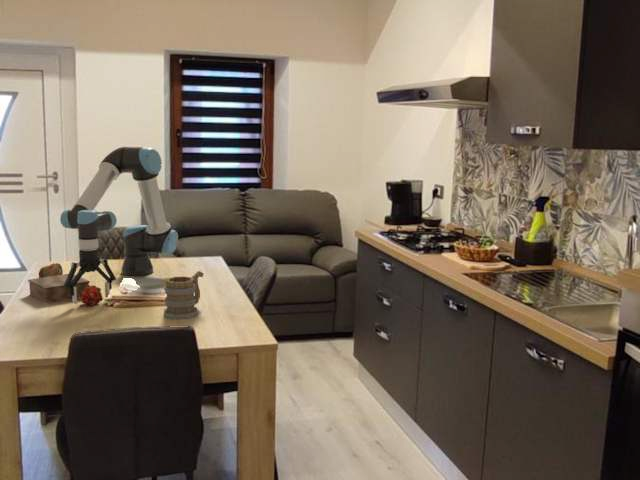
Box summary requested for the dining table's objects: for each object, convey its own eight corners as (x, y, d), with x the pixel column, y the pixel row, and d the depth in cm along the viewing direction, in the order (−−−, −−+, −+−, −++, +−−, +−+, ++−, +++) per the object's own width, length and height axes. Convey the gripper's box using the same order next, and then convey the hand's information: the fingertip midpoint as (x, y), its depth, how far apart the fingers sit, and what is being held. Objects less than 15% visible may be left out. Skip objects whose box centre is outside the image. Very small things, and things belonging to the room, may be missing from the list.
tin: (44, 286, 292) (43, 268, 291) (37, 286, 293) (36, 268, 291) (63, 279, 307) (62, 261, 305) (57, 278, 307) (56, 261, 306)
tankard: (181, 321, 245) (180, 282, 242) (157, 315, 252) (155, 277, 249) (216, 308, 262) (216, 272, 259) (193, 303, 268) (192, 268, 266)
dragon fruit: (94, 303, 272) (93, 316, 261) (75, 293, 268) (74, 305, 257) (105, 287, 271) (106, 299, 260) (87, 277, 267) (87, 288, 257)
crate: (72, 288, 291) (71, 273, 290) (90, 297, 278) (89, 281, 276) (29, 295, 278) (28, 279, 277) (46, 304, 265) (45, 288, 264)
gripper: (114, 244, 272) (116, 293, 275) (53, 251, 255) (56, 303, 259) (122, 246, 266) (124, 297, 270) (60, 254, 250) (63, 307, 254)
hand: (91, 300), depth 264 cm, fingers open, 13 cm apart
